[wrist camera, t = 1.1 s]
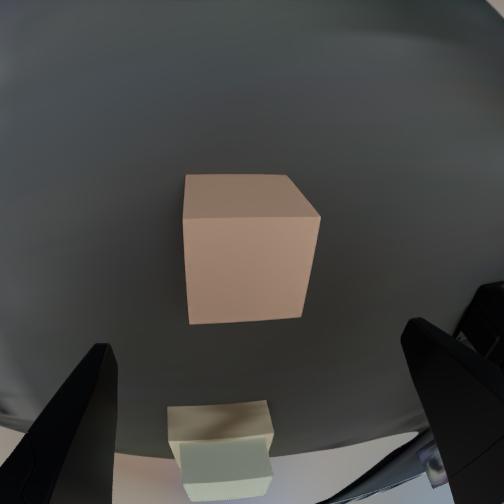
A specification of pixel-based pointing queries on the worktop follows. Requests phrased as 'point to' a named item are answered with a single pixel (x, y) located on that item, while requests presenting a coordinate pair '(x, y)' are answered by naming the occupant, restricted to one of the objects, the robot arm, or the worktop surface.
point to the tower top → (225, 469)
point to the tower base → (218, 424)
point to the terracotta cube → (246, 247)
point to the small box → (433, 464)
